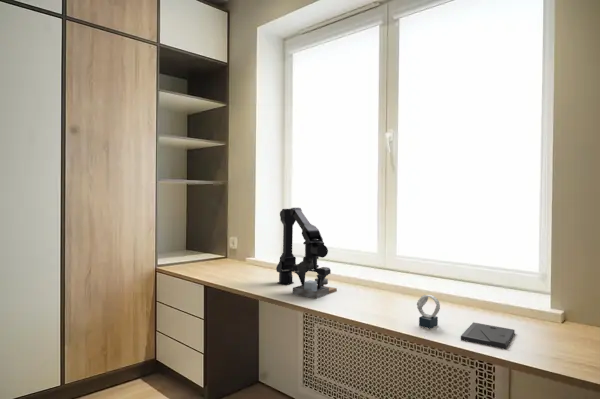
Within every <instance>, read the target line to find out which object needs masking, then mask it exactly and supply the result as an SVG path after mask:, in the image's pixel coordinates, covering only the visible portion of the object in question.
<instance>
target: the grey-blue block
mask: <svg viewBox="0 0 600 399" xmlns="http://www.w3.org/2000/svg"><path fill="white" fill-rule="evenodd" d="M304 289H305V290H311V291H317V281H315V280H305V282H304Z"/></svg>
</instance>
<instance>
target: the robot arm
mask: <svg viewBox="0 0 600 399" xmlns="http://www.w3.org/2000/svg"><path fill="white" fill-rule="evenodd" d="M279 216H280V222H281V223H282V226H283V227H282V228H283V234H282V235H283V236H282V253H281V255H280V256H279V262H278V264H277V265H276V272H277V273H278V274H279V276H278V282H277V284H280V285H285V286H286V285H291V284H294V281H293V273H294V274H296V275H297V276H298V278H299V281H300V284H301V285H302V286H304V282H306V273H308V272H314V273H317V275H316V278H318V289H320V287H321V285H322V283H323V281H324V279H326V277H327V276H329V275H331V273H332V272H331V268H330V267H328V266H323V267H320V266H319V264H318V260H319V258H325V257H326V256H328V253H329V250H328V247H327V246H326V245H325V242H324V239H323V237H322V234H321V233H320V230H319V229H318V227H317V226H316V225H313V224H312V223H311V222H310V221H309V220H308V218H307V217H306V216H305V214H304V213H303V210H302V208H301V207H291V208H282V209H281V210H280V212H279ZM296 222H297V225H298V226H299V227H300V229H301V236H302V237H303V240H304V242H303V245H304V252H305V253H304V256H303V258H302V261H300V262H299V263H297V261H296V260H297V258H296V256H295V255H294V254H293V233H294V231H293V229H294V228H293V227H294V224H295V223H296Z"/></svg>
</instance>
